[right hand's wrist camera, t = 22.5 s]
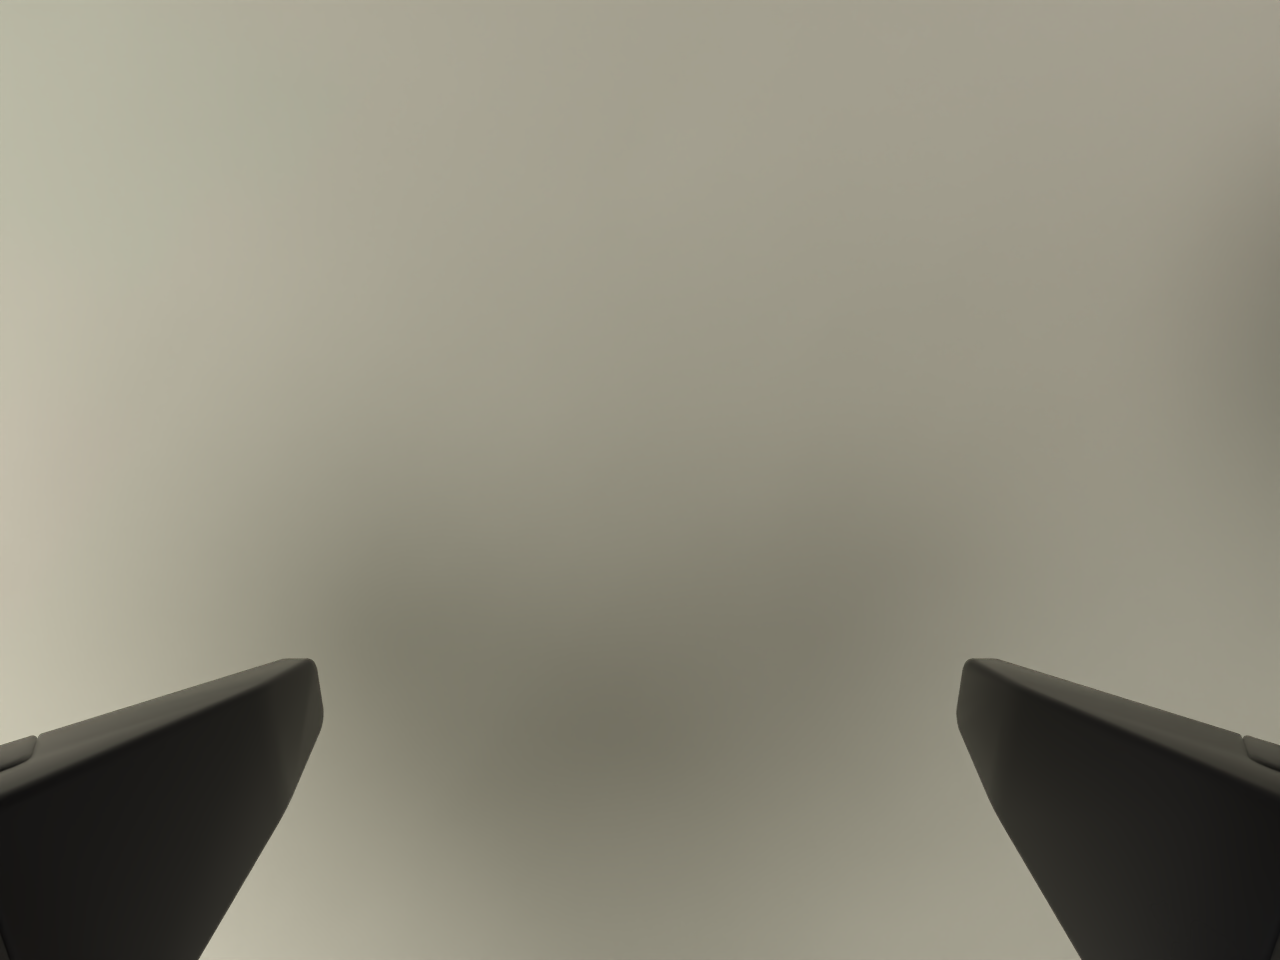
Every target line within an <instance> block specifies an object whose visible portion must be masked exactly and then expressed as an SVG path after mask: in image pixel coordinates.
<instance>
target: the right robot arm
mask: <svg viewBox="0 0 1280 960" xmlns="http://www.w3.org/2000/svg"><path fill="white" fill-rule="evenodd" d="M322 723H323V704H322V697H321V691H320V684H319V678H318V672H317V667H316V665H315V663H314V661H313V660H311V659H308V658H288V659H281V660H278V661H275V662H271V663H268V664H265V665H262V666H258V667H255V668H252V669H249V670H246V671H242V672H239V673H236V674H233V675H229V676H226V677H223V678H220V679H216V680H213V681H210V682H207V683H204V684H200V685H197V686H194V687H191V688H187V689H184V690H181V691H178V692H174V693H171V694H168V695H165V696H162V697H158V698H155V699H152V700H149V701H145V702H142V703H139V704H136V705H133V706H129V707H126V708H123V709H120V710H116V711H113V712H110V713H107V714H103V715H100V716H97V717H94V718H91V719H87V720H84V721H81V722H78V723H74V724H71V725H68V726H65V727H62V728H58V729H55V730H52V731H49V732H45V733H42V734H40V735H39V736H38V739H37V737H36V736H29V737H26V738H22V739H19V740H16V741H13V742H9V743H6V744H3V745H0V960H199V958H200V956H201V954H202V953H203V951H204V949H205V948H206V946H207V944H208V943H209V941H210V939H211V937H212V936H213V934H214V932H215V931H216V929H217V927H218V925H219V924H220V922H221V920H222V919H223V917H224V915H225V914H226V912H227V910H228V908H229V907H230V905H231V903H232V902H233V900H234V898H235V897H236V895H237V893H238V891H239V890H240V888H241V886H242V885H243V883H244V881H245V879H246V878H247V876H248V874H249V873H250V871H251V869H252V868H253V866H254V864H255V862H256V861H257V859H258V857H259V856H260V854H261V852H262V850H263V849H264V847H265V845H266V844H267V842H268V840H269V839H270V837H271V835H272V833H273V832H274V830H275V828H276V827H277V825H278V823H279V821H280V820H281V818H282V816H283V814H284V812H285V810H286V809H287V806H288V804H289V802H290V800H291V798H292V796H293V793H294V791H295V789H296V786H297V784H298V782H299V779H300V777H301V775H302V772H303V770H304V768H305V765H306V763H307V761H308V758H309V756H310V754H311V751H312V749H313V747H314V744H315V742H316V740H317V737H318V735H319V733H320V730H321V727H322ZM957 723H958V727H959V730H960V733H961V735H962V738H963V740H964V742H965V745H966V747H967V749H968V752H969V754H970V756H971V759H972V761H973V763H974V766H975V768H976V770H977V773H978V775H979V777H980V780H981V782H982V784H983V787H984V789H985V791H986V794H987V796H988V798H989V800H990V802H991V804H992V806H993V809H994V810H995V812H996V814H997V816H998V818H999V820H1000V821H1001V823H1002V825H1003V827H1004V828H1005V830H1006V832H1007V833H1008V835H1009V837H1010V839H1011V840H1012V842H1013V844H1014V845H1015V847H1016V849H1017V850H1018V852H1019V854H1020V856H1021V857H1022V859H1023V861H1024V862H1025V864H1026V866H1027V868H1028V869H1029V871H1030V873H1031V874H1032V876H1033V878H1034V879H1035V881H1036V883H1037V885H1038V886H1039V888H1040V890H1041V891H1042V893H1043V895H1044V897H1045V898H1046V900H1047V902H1048V903H1049V905H1050V907H1051V908H1052V910H1053V912H1054V914H1055V915H1056V917H1057V919H1058V920H1059V922H1060V924H1061V926H1062V927H1063V929H1064V931H1065V932H1066V934H1067V936H1068V937H1069V939H1070V941H1071V943H1072V944H1073V946H1074V948H1075V949H1076V951H1077V953H1078V954H1079V956H1080V958H1081V960H1280V745H1277V744H1274V743H1271V742H1267V741H1264V740H1261V739H1258V738H1254V737H1251V736H1244V737H1243V739H1242V736H1241V735H1240V734H1238V733H1235V732H1231V731H1228V730H1225V729H1222V728H1218V727H1215V726H1212V725H1209V724H1206V723H1202V722H1199V721H1196V720H1193V719H1189V718H1186V717H1183V716H1180V715H1177V714H1173V713H1170V712H1167V711H1164V710H1160V709H1157V708H1154V707H1151V706H1147V705H1144V704H1141V703H1138V702H1135V701H1131V700H1128V699H1125V698H1122V697H1118V696H1115V695H1112V694H1109V693H1105V692H1102V691H1099V690H1096V689H1093V688H1089V687H1086V686H1083V685H1080V684H1076V683H1073V682H1070V681H1067V680H1064V679H1060V678H1057V677H1054V676H1051V675H1047V674H1044V673H1041V672H1038V671H1034V670H1031V669H1028V668H1025V667H1022V666H1018V665H1015V664H1012V663H1009V662H1005V661H1002V660H999V659H992V658H972V659H969V660H967V661H966V663H965V665H964V667H963V671H962V678H961V684H960V691H959V697H958V704H957Z"/></svg>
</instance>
